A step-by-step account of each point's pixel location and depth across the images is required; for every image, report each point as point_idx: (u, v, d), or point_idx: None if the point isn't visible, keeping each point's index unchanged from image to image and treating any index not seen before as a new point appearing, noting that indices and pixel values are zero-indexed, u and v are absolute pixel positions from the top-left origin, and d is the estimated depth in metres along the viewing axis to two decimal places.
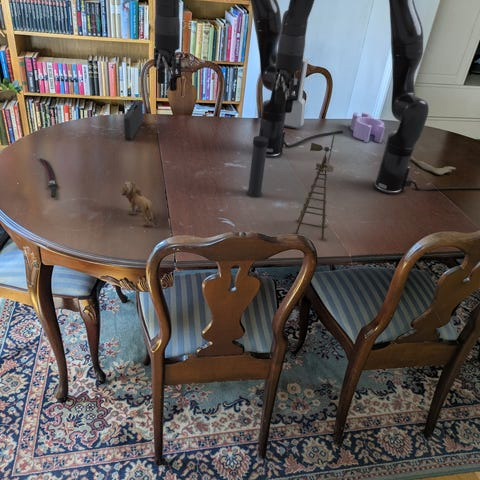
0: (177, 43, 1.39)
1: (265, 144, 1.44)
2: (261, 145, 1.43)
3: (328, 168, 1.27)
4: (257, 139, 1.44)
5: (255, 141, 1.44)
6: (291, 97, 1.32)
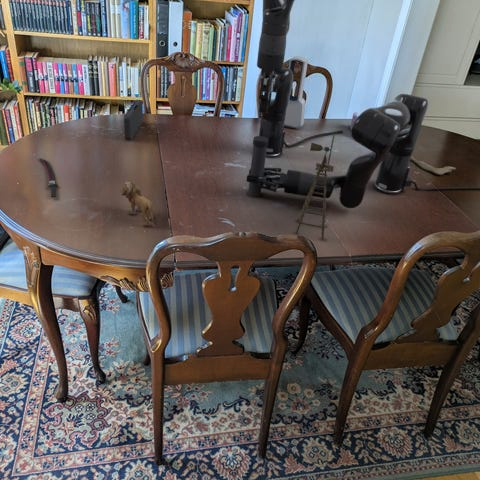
0: None
1: (265, 144, 1.44)
2: (261, 145, 1.43)
3: (328, 168, 1.27)
4: (257, 139, 1.44)
5: (255, 141, 1.44)
6: None
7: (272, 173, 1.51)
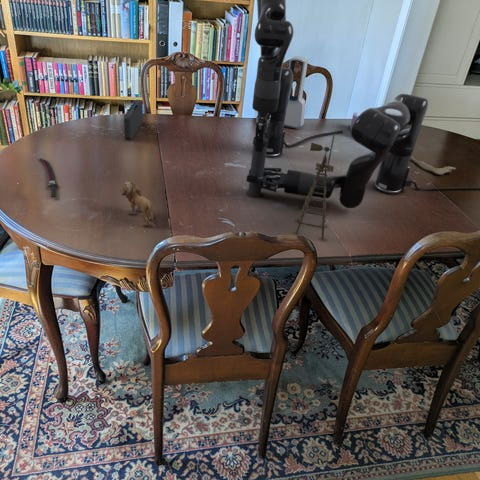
0: None
1: (265, 144, 1.44)
2: None
3: (328, 168, 1.27)
4: None
5: (255, 141, 1.44)
6: None
7: (272, 173, 1.51)
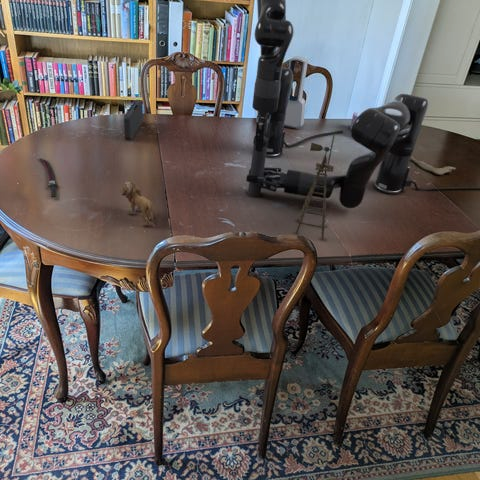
0: None
1: None
2: None
3: (328, 168, 1.27)
4: (264, 139, 1.44)
5: (266, 142, 1.43)
6: None
7: (272, 173, 1.51)
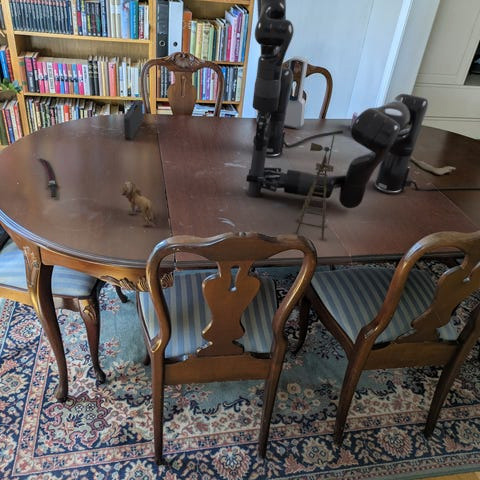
0: None
1: None
2: None
3: (328, 168, 1.27)
4: (265, 136, 1.45)
5: None
6: None
7: (272, 173, 1.51)
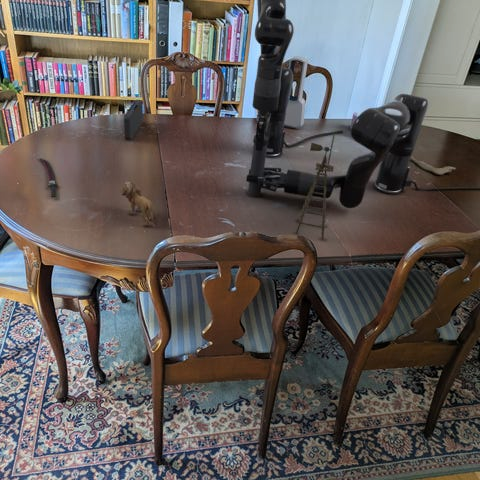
0: None
1: (255, 141, 1.44)
2: (253, 140, 1.45)
3: (328, 168, 1.27)
4: None
5: None
6: None
7: (272, 173, 1.51)
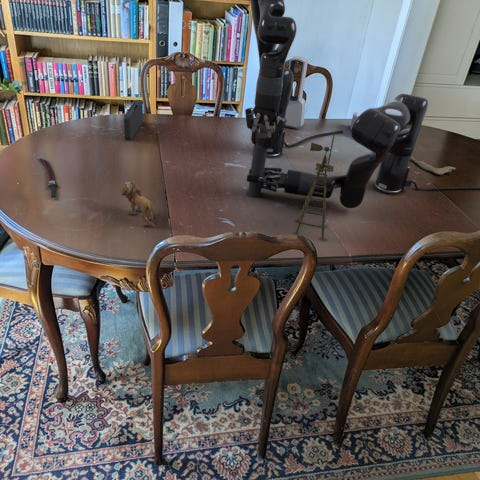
0: (255, 98, 1.38)
1: None
2: None
3: (328, 168, 1.27)
4: (267, 135, 1.44)
5: None
6: None
7: (272, 173, 1.51)
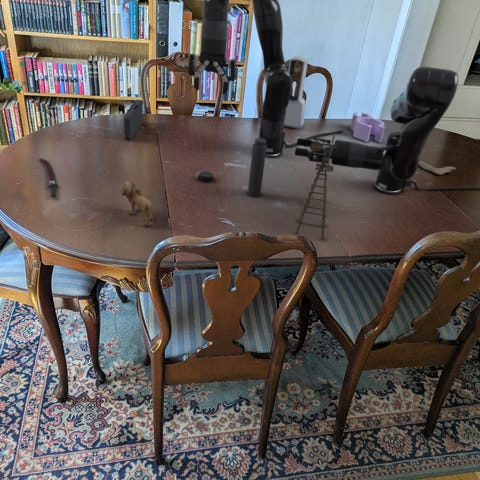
0: (201, 45, 1.36)
1: None
2: None
3: (328, 168, 1.27)
4: (210, 173, 1.61)
5: None
6: None
7: (319, 144, 1.44)
